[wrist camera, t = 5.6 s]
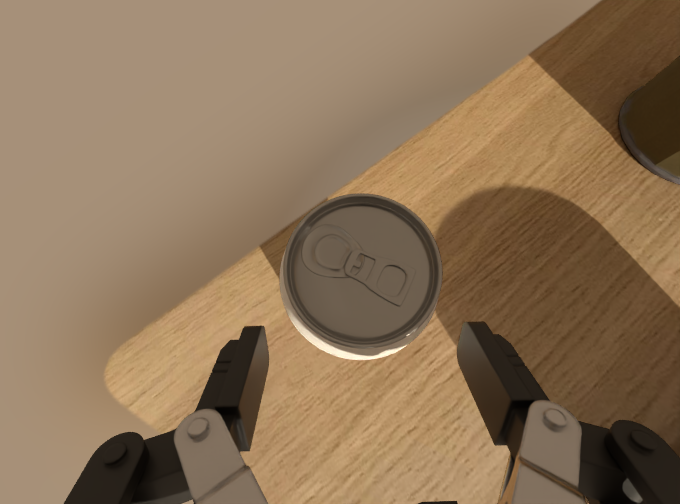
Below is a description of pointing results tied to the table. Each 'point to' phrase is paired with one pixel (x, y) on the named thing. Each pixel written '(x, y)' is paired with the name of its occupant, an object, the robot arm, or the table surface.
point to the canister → (655, 123)
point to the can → (361, 276)
